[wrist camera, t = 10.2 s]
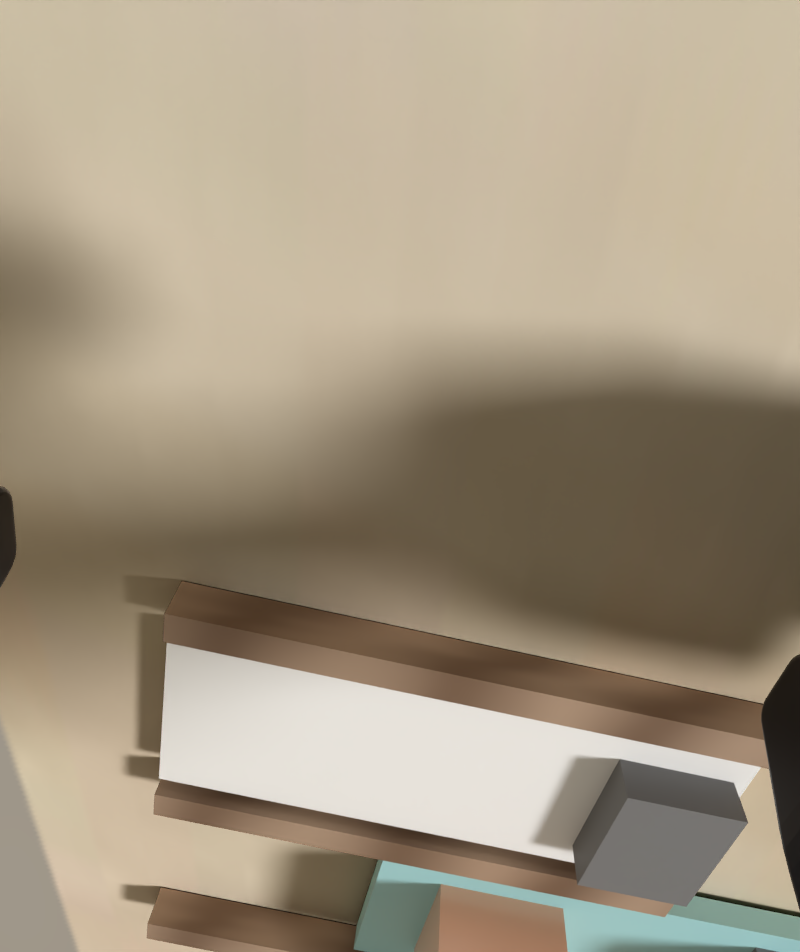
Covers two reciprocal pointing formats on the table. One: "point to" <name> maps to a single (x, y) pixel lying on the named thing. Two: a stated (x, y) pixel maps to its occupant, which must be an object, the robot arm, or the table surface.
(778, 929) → the strip
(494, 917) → the cube
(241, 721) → the strip
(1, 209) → the table surface
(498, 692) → the lane rails
